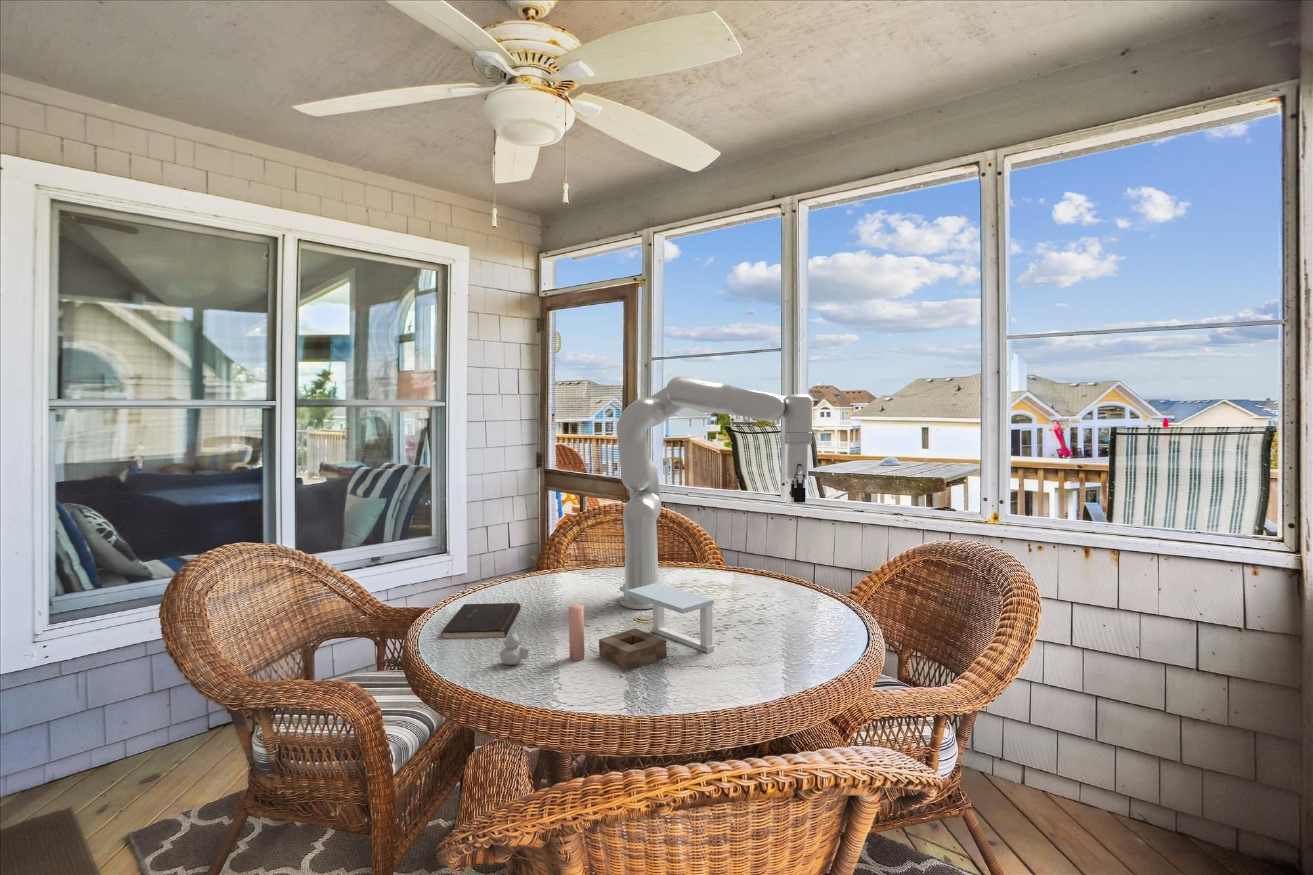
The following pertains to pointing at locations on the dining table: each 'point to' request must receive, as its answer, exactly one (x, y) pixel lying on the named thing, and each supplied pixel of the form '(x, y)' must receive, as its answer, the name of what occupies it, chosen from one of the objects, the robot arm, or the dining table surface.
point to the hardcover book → (482, 620)
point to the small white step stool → (680, 603)
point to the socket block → (632, 649)
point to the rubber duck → (513, 650)
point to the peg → (576, 632)
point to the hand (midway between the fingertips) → (798, 499)
